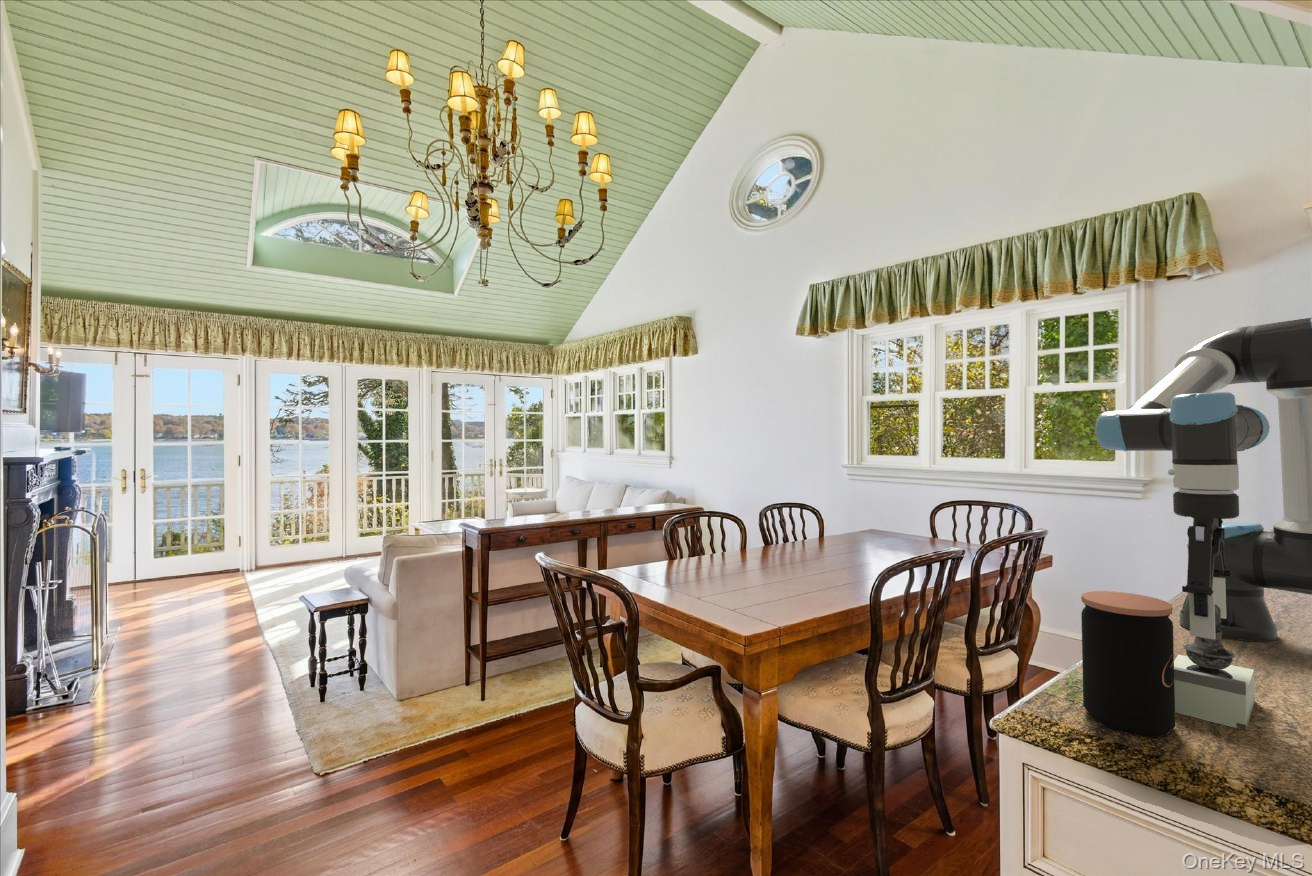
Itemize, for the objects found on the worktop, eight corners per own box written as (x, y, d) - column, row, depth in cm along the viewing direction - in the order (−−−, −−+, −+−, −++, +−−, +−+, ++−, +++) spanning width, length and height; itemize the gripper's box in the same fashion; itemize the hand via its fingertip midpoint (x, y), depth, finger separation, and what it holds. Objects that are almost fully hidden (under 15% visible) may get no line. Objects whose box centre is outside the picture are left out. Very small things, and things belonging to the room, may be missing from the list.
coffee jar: (1184, 746, 79) (1181, 614, 79) (1086, 727, 85) (1084, 603, 85) (1167, 715, 88) (1164, 596, 88) (1080, 699, 94) (1078, 587, 94)
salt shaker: (1184, 663, 95) (1183, 589, 95) (1235, 672, 91) (1234, 596, 91) (1182, 673, 91) (1181, 596, 91) (1235, 684, 87) (1233, 603, 87)
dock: (1179, 683, 99) (1178, 645, 99) (1254, 701, 92) (1253, 659, 92) (1163, 709, 90) (1162, 666, 90) (1246, 730, 83) (1245, 684, 83)
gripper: (1185, 484, 103) (1189, 604, 103) (1158, 496, 86) (1162, 640, 86) (1246, 486, 97) (1250, 613, 97) (1229, 500, 81) (1233, 653, 81)
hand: (1209, 626), depth 92 cm, fingers open, 13 cm apart
